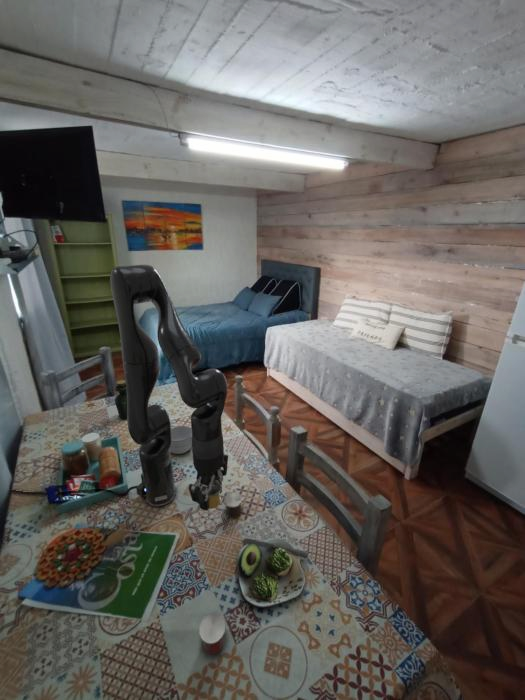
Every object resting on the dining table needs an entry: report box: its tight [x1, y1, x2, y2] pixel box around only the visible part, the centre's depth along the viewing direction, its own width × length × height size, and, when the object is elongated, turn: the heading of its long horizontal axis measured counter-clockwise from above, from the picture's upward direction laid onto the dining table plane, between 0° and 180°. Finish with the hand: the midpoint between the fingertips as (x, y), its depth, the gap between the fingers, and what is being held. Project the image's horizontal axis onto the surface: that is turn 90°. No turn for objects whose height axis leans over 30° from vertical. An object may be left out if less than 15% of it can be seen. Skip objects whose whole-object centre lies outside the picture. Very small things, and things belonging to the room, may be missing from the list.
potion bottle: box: [114, 379, 127, 420], centre depth 147 cm, size 8×8×18 cm
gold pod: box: [202, 479, 223, 510], centre depth 82 cm, size 6×6×5 cm
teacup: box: [170, 425, 192, 455], centre depth 126 cm, size 14×11×8 cm
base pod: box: [223, 492, 243, 518], centre depth 99 cm, size 6×6×5 cm
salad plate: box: [235, 537, 309, 609], centre depth 82 cm, size 19×18×5 cm
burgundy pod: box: [198, 611, 227, 655], centre depth 68 cm, size 6×6×5 cm
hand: (211, 500), depth 83 cm, fingers closed on gold pod, 5 cm apart
